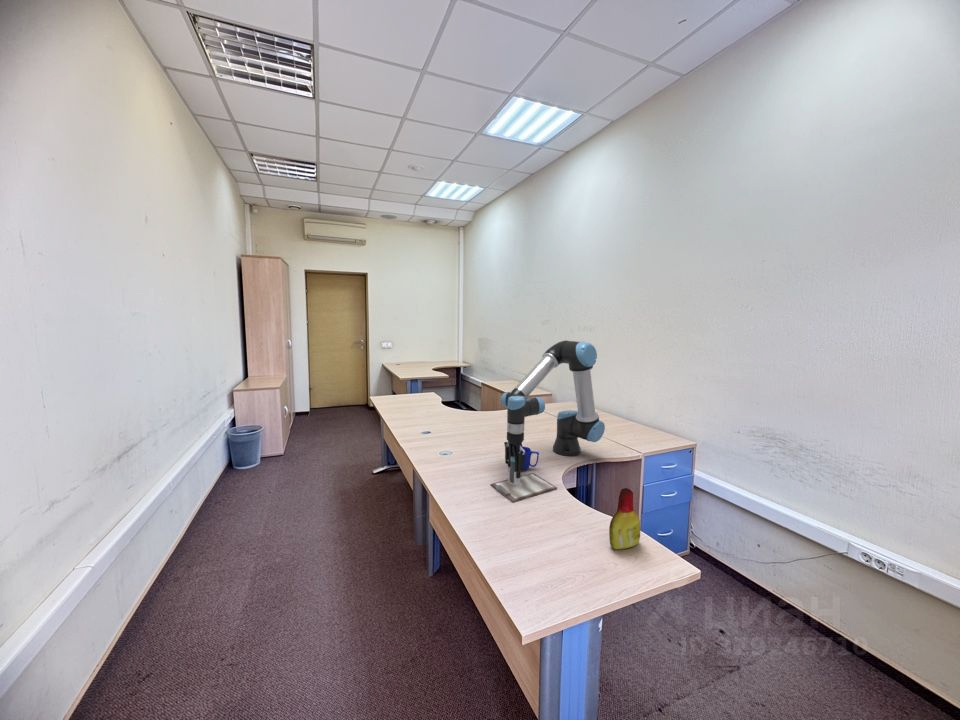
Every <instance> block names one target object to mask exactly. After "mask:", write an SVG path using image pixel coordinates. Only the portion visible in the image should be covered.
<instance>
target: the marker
mask: <svg viewBox="0 0 960 720" xmlns="http://www.w3.org/2000/svg"><path fill="white" fill-rule="evenodd" d="M510 461H511V463H510V484H511V485H513V486H516V485H514V470H515V457H514V456H511V459H510Z"/></svg>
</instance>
